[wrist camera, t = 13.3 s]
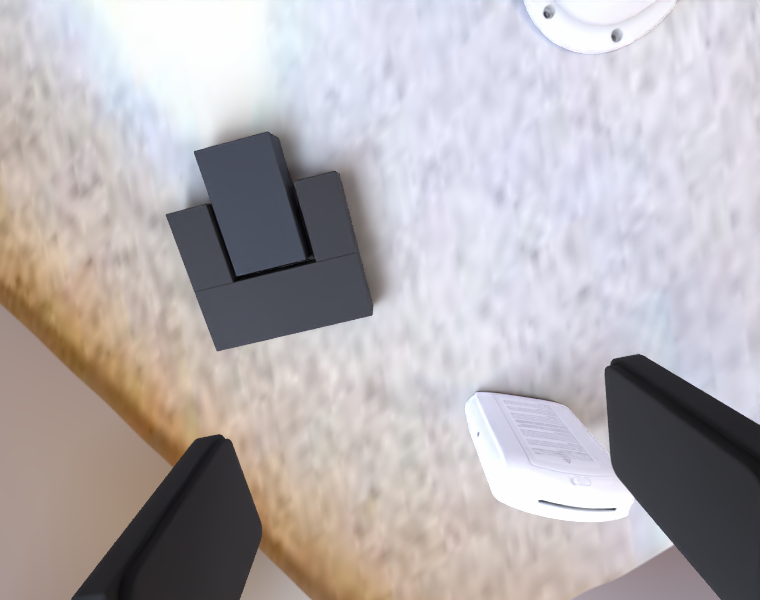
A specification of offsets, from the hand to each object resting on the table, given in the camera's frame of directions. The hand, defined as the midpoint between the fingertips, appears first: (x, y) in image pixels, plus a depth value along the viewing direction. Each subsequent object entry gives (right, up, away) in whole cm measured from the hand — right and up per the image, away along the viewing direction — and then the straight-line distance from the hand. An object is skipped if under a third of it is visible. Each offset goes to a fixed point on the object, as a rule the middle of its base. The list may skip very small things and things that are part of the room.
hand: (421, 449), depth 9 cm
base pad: (-10, +7, +25) cm, 27 cm away
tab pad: (-11, +12, +23) cm, 29 cm away
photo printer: (+12, -8, +29) cm, 32 cm away
